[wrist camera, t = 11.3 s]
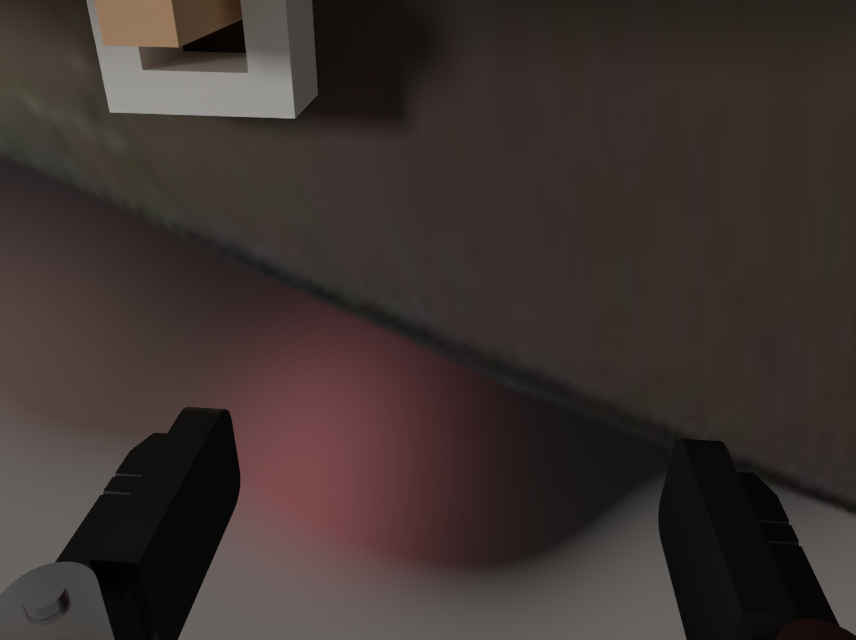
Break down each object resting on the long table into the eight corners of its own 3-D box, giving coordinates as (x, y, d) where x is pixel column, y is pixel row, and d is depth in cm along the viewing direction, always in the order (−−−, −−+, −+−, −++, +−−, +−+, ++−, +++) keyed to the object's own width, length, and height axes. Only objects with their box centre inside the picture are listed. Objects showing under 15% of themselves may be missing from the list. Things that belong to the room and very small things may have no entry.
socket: (305, -103, 33) (276, -105, 29) (318, 94, 38) (295, 118, 33) (118, -106, 34) (63, -108, 29) (153, 89, 38) (109, 112, 34)
